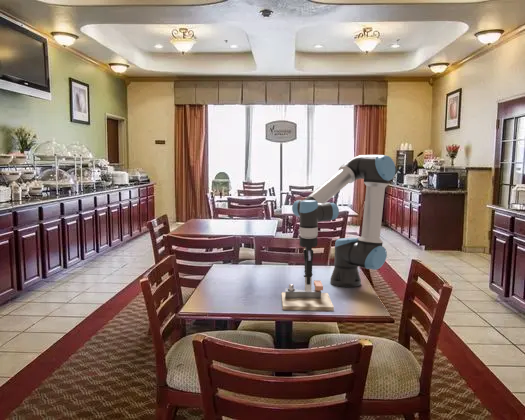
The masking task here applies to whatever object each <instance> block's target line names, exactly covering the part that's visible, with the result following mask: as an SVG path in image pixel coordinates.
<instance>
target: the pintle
mask: <svg viewBox="0 0 525 420" xmlns="http://www.w3.org/2000/svg"><path fill="white" fill-rule="evenodd" d="M288 288H289V291H294V289H295V287H294V284H292V283H290V284H288ZM290 299H293V298H290Z"/></svg>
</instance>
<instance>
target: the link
mask: <svg viewBox="0 0 525 420" xmlns="http://www.w3.org/2000/svg"><path fill="white" fill-rule="evenodd" d="M284 291H285V298H294V299H297V298H316V299H321V293H322V290H315V289H311V292H305V289H298V288H294V291H289V287H288V288H287V287H286V288H285V290H284Z"/></svg>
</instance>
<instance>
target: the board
mask: <svg viewBox="0 0 525 420" xmlns="http://www.w3.org/2000/svg"><path fill="white" fill-rule="evenodd" d="M281 304H282V305H281V306H282V310H286V311H287V310H288V311H335V306H334V304H333V302H332V300H331V297H330V295H329V293H328V292H321V299H316V298H297V299H294V298H293V299H290V298H285V292H284V291H282V292H281Z"/></svg>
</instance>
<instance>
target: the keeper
mask: <svg viewBox="0 0 525 420" xmlns="http://www.w3.org/2000/svg"><path fill="white" fill-rule="evenodd" d="M313 285H314V290H321V291H324V285H323V283H322V281H321V280H313Z"/></svg>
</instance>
